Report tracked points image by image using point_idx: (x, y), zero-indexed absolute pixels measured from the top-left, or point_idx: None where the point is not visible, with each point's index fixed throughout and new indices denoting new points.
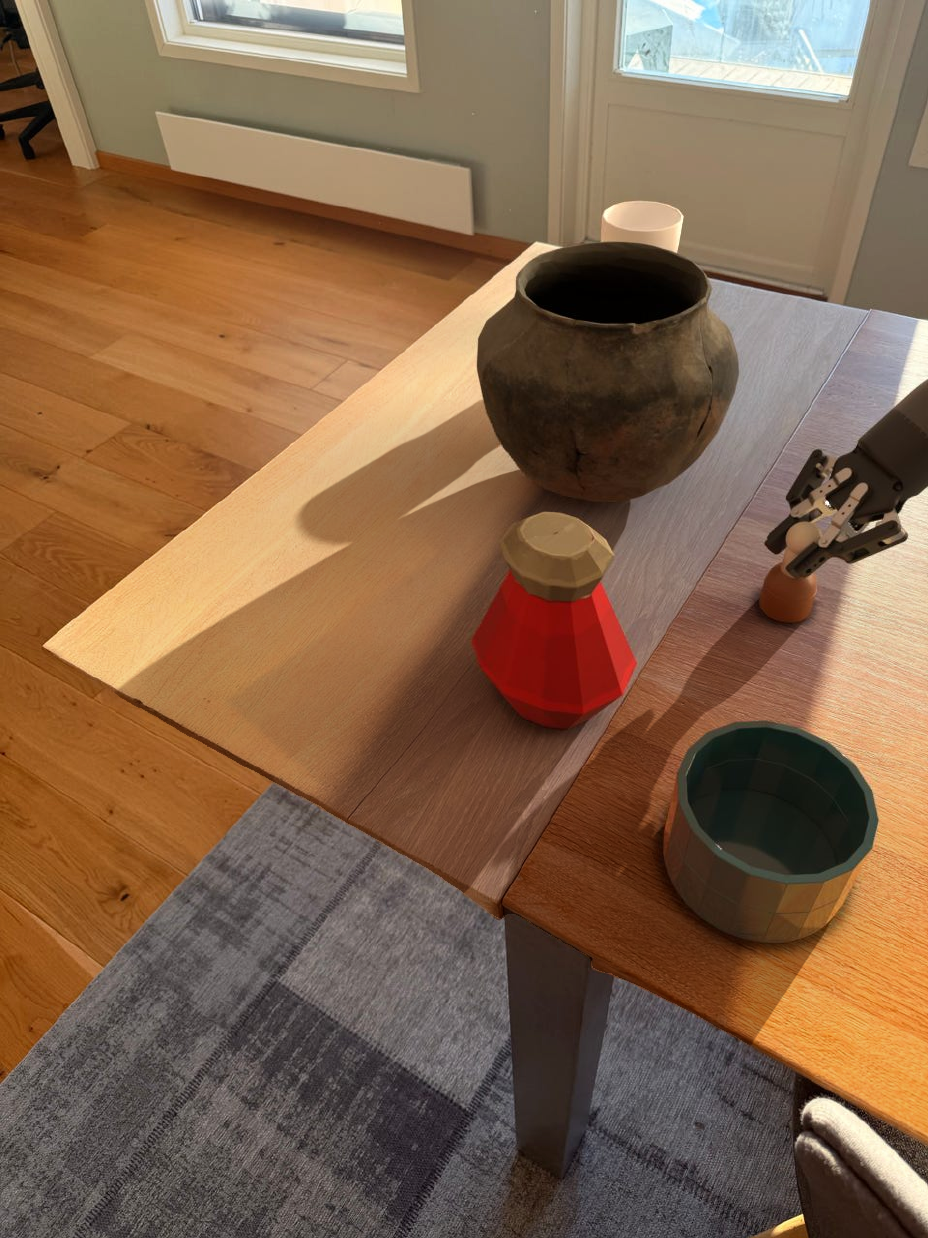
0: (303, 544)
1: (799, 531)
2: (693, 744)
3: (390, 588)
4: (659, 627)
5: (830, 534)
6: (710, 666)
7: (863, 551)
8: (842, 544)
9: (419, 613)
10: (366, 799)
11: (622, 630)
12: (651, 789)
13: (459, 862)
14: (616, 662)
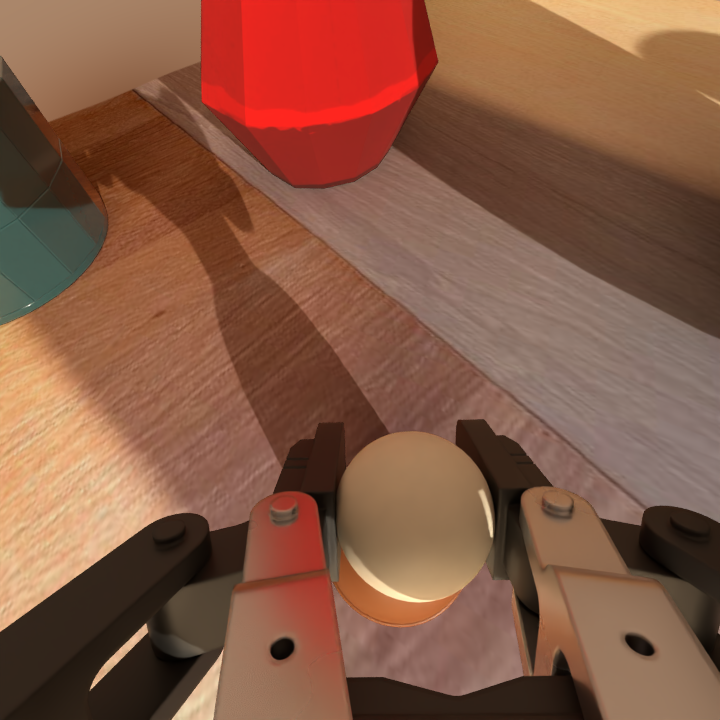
0: (635, 31)
1: (406, 448)
2: (2, 63)
3: (548, 73)
4: (402, 291)
5: (278, 541)
6: (290, 326)
7: (111, 703)
8: (169, 552)
9: (499, 87)
10: None
11: (242, 25)
12: (147, 197)
13: (180, 74)
14: (208, 42)
